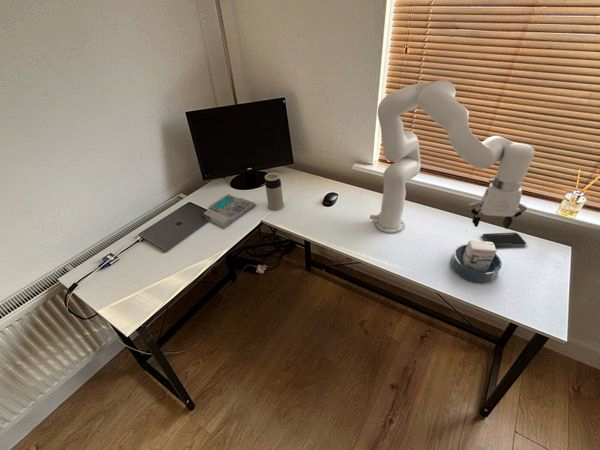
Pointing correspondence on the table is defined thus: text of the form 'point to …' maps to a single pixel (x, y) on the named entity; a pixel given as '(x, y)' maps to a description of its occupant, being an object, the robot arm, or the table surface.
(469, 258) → the ink box
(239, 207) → the office telephone
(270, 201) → the travel mug
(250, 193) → the table surface
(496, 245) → the phone
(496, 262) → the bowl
